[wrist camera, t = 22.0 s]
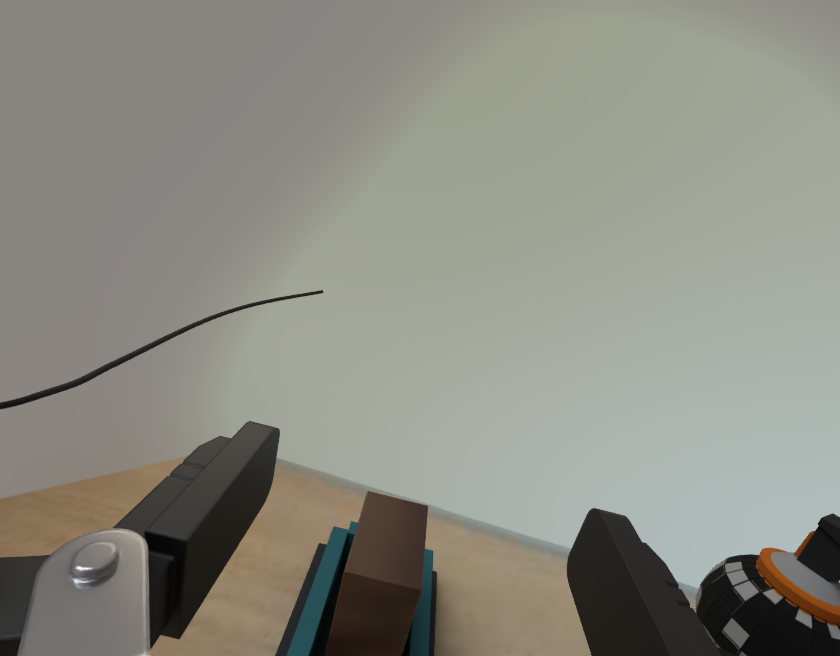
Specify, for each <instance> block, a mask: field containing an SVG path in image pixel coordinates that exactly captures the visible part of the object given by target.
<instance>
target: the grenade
mask: <svg viewBox="0 0 840 656" xmlns="http://www.w3.org/2000/svg"><path fill="white" fill-rule="evenodd" d="M818 525H819V526H818V528H817V529H816V531H812V532H810V534H809V535H808V536H807V538H806V539H805V540H804V541H803V543H802V544H801V545H800V547H799V548H798V549H797V551H796V552H795V553H790V552H786V551H783V550H780V549H775V548H765V549H762V550H761V552H760V555H752V554H751V555H738V556H733V557H729V558H727V559H725V560H724V561H722V562H721V563H719V564H717V565H716V566H715V567H714V568H713V569H712V570H711V571H710V572H709V573H708V574H707V576H706V577H705V578H704V580H703V581H702V583H701V584H700V587H699V590H698V593H697V596H696V615H697V616H698V618H699V619H700V621H701V623H702V624H703V626H704V628H705V629H706V631H707V633H708V634H709V636H710V638H711V639H712V641H713V642H714V644H715V646H716V647H718V648H720V649H723V650H725V651H727V652H730V653H732V654H734V655H737V656H840V583H839V580H840V517H838V516H836V515H835V514H830V515H828V516H825V517H823V518H821V520H820V521H819V523H818Z"/></svg>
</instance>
